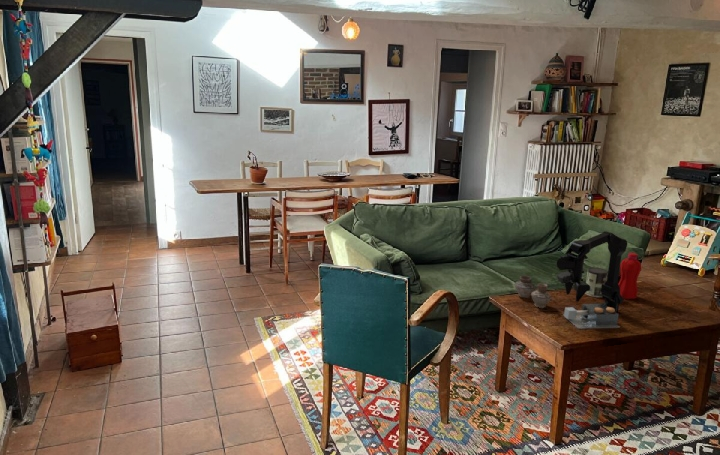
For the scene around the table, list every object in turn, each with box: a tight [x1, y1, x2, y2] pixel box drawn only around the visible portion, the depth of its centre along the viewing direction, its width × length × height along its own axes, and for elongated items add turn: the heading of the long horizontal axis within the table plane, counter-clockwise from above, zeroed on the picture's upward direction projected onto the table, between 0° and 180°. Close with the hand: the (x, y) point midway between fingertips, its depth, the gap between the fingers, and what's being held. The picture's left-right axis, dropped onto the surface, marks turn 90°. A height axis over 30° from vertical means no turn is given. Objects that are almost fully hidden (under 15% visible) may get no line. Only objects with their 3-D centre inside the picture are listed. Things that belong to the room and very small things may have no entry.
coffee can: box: [584, 266, 608, 298], centre depth 295 cm, size 10×10×14 cm
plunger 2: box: [606, 307, 615, 313], centre depth 256 cm, size 4×4×4 cm
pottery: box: [514, 275, 552, 309], centre depth 284 cm, size 11×25×12 cm, turn 18°
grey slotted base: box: [561, 303, 621, 330], centre depth 260 cm, size 21×16×7 cm
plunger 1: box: [594, 308, 603, 314], centre depth 256 cm, size 4×4×4 cm
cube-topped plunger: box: [563, 306, 589, 320], centre depth 262 cm, size 20×4×4 cm, turn 97°
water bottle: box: [618, 252, 642, 300], centre depth 290 cm, size 9×11×25 cm
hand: (572, 297), depth 259 cm, fingers open, 9 cm apart
